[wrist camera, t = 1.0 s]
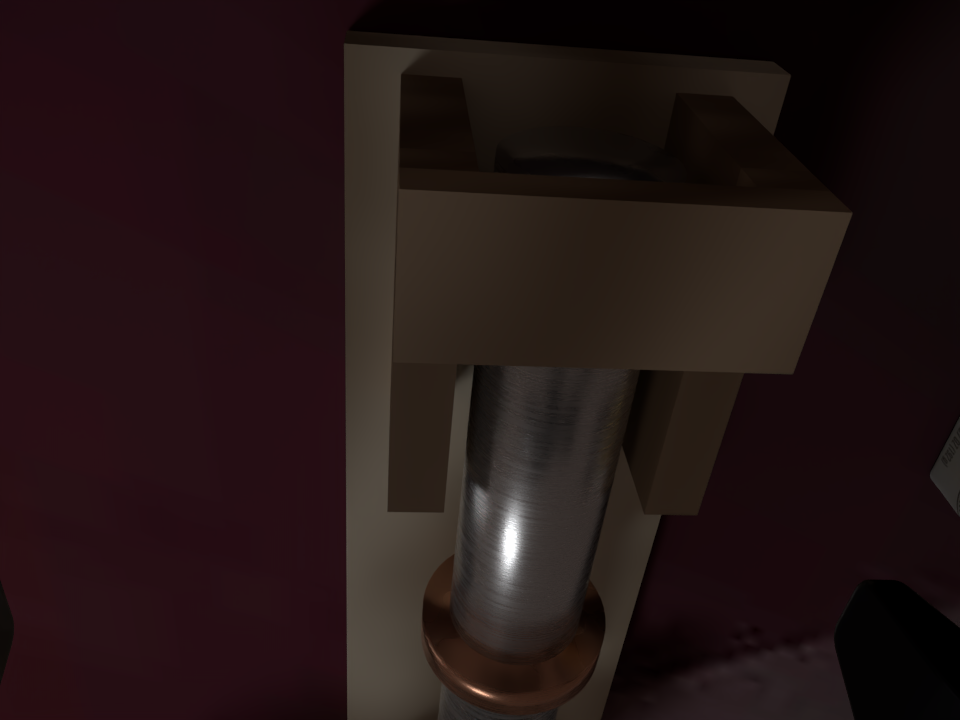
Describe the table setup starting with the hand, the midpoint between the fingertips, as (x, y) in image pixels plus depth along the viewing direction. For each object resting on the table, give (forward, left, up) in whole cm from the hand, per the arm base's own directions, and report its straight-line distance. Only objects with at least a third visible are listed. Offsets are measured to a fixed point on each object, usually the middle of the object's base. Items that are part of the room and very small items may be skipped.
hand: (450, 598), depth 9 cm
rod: (-3, +8, -11) cm, 13 cm away
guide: (-3, +11, -12) cm, 16 cm away
